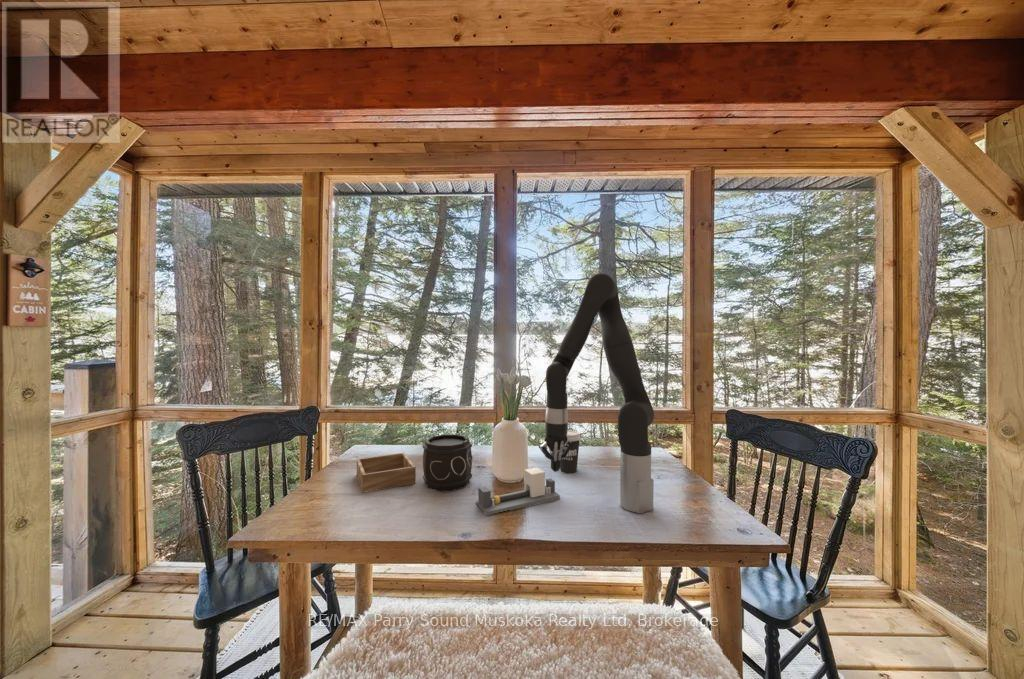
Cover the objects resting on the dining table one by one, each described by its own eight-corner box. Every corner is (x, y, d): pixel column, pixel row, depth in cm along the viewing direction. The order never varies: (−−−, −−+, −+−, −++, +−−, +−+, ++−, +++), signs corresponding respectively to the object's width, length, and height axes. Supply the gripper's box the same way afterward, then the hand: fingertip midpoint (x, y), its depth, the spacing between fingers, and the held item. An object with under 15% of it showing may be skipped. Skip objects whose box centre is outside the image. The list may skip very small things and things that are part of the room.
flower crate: (415, 483, 143) (415, 466, 143) (362, 492, 135) (362, 475, 135) (404, 467, 160) (404, 452, 160) (356, 474, 152) (356, 459, 152)
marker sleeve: (537, 489, 134) (537, 467, 134) (545, 494, 130) (545, 472, 130) (524, 492, 132) (524, 469, 132) (531, 497, 128) (531, 474, 127)
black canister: (479, 487, 139) (479, 443, 139) (428, 495, 133) (428, 449, 132) (466, 471, 156) (466, 431, 156) (419, 477, 149) (419, 435, 149)
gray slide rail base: (545, 489, 138) (545, 471, 138) (559, 498, 130) (559, 480, 130) (475, 504, 126) (475, 484, 126) (486, 515, 118) (486, 495, 118)
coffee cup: (551, 468, 159) (551, 431, 159) (571, 465, 163) (572, 428, 163) (564, 476, 150) (564, 437, 150) (585, 472, 154) (585, 434, 154)
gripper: (545, 424, 128) (544, 477, 129) (579, 421, 134) (577, 471, 135) (534, 419, 135) (533, 469, 136) (566, 416, 141) (565, 464, 142)
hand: (555, 470), depth 135 cm, fingers closed
